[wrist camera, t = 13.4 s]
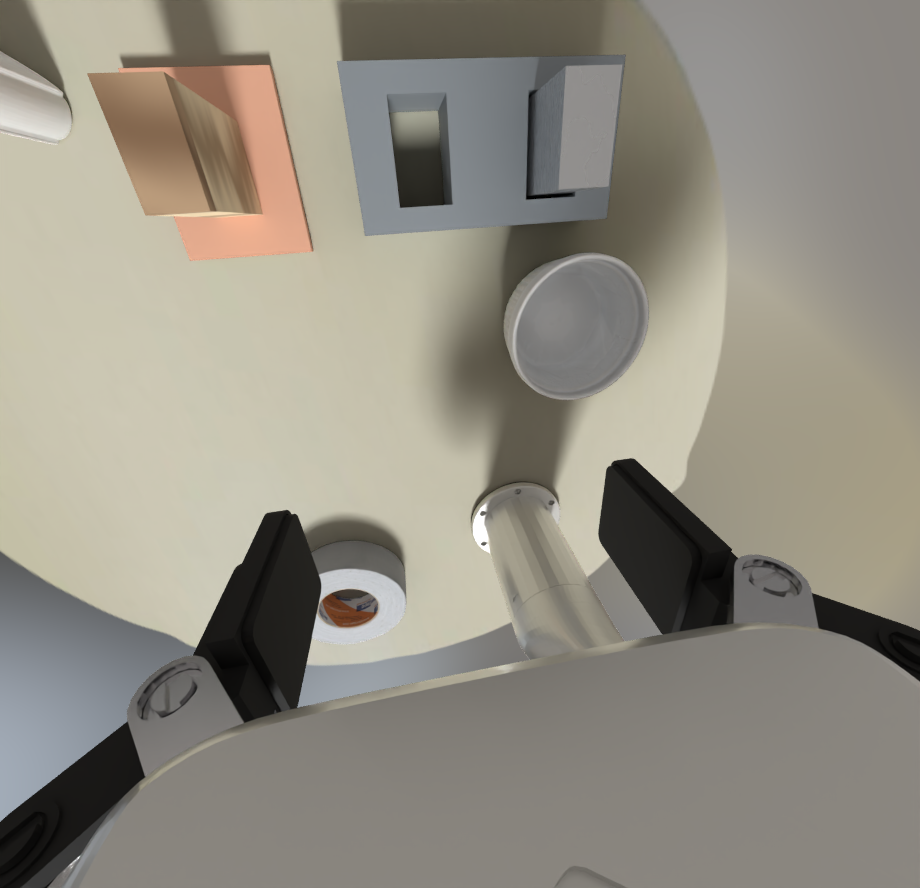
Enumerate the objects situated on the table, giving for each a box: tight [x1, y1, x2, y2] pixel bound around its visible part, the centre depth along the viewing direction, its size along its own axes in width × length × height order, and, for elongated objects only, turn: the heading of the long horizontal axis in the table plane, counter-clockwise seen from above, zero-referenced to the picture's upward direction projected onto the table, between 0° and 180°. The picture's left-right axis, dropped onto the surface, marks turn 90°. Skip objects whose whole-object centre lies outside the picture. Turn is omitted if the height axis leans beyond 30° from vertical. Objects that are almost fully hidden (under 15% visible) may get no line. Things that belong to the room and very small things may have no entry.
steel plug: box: [526, 65, 622, 198], centre depth 29 cm, size 6×4×11 cm, turn 3°
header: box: [337, 55, 626, 236], centre depth 31 cm, size 10×20×5 cm, turn 93°
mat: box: [118, 65, 313, 261], centre depth 30 cm, size 12×10×1 cm
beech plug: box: [88, 71, 263, 218], centre depth 25 cm, size 6×4×11 cm, turn 4°
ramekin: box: [503, 253, 649, 400], centre depth 38 cm, size 13×13×7 cm
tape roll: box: [311, 541, 406, 644], centre depth 53 cm, size 15×15×5 cm
